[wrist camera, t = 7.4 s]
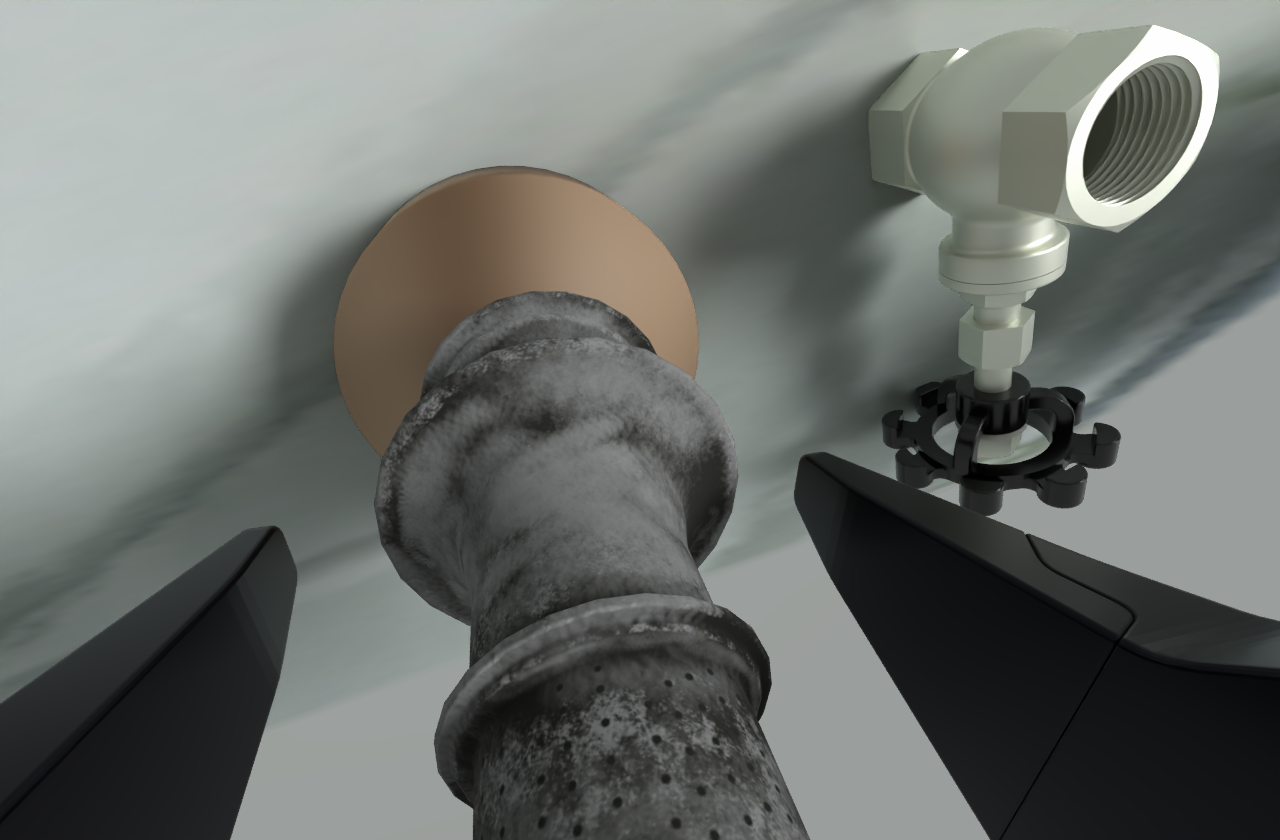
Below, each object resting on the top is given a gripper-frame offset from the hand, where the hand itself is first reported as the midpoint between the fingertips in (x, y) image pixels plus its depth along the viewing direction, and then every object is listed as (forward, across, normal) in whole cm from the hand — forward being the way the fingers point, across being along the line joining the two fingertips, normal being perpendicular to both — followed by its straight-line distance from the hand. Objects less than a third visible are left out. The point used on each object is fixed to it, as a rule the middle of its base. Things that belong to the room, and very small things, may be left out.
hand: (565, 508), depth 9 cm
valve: (+9, -13, -2) cm, 16 cm away
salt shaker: (+4, 0, 0) cm, 4 cm away
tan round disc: (+8, 0, 0) cm, 9 cm away
